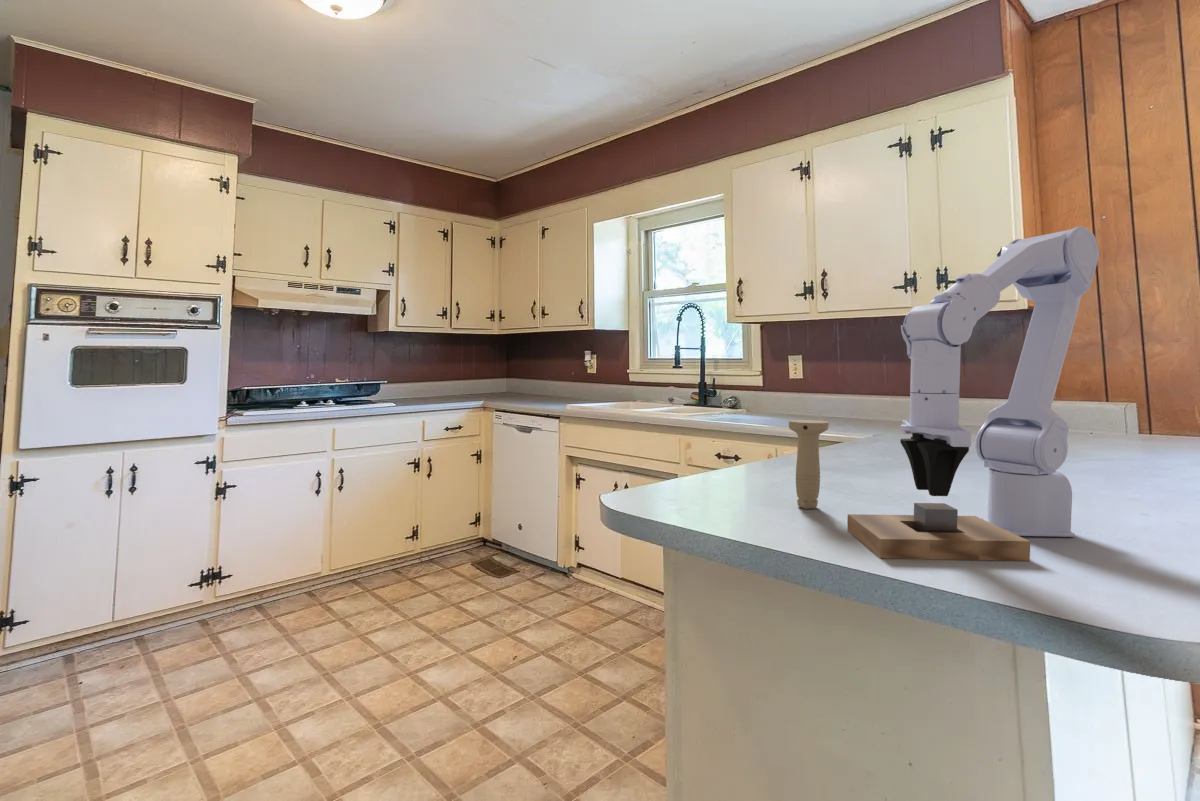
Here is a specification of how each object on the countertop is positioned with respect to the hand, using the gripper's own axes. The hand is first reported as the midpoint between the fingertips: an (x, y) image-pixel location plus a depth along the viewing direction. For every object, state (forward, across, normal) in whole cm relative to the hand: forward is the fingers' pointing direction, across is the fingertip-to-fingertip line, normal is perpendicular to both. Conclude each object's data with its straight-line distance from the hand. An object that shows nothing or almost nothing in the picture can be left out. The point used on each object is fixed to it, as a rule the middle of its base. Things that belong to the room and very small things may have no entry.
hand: (931, 492), depth 77 cm
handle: (+7, -20, -11) cm, 24 cm away
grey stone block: (+7, 0, 0) cm, 7 cm away
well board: (+7, 0, 0) cm, 7 cm away
